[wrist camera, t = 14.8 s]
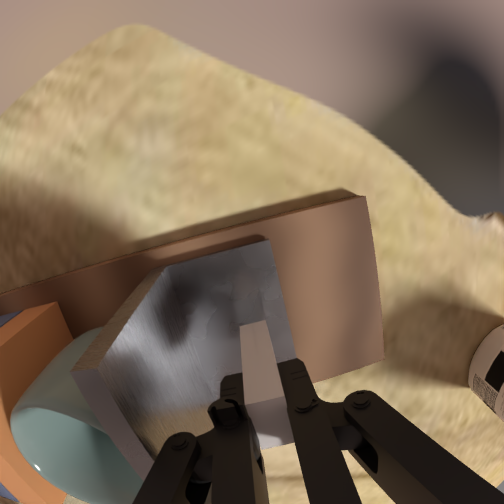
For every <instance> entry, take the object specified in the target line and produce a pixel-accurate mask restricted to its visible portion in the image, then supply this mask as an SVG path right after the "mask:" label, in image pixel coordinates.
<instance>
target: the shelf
mask: <svg viewBox="0 0 504 504" xmlns="http://www.w3.org/2000/svg"><path fill="white" fill-rule="evenodd" d="M267 238H269V240H270V244H271V248H272V253H273V257H274V261H275V265H276V269H277V274H278V278H279V282H280V286H281V291H282V295H283V299H284V304H285V308H286V312H287V317H288V321H289V325H290V330H291V334H292V339H293V343H294V348H295V352H296V357H297V358H298V359H300V360H301V361H303V362H304V364H305V366H306V369H307V371H308V374H309V376H310V379H311V381H312V383H315V382H319V381H322V380H325V379H329V378H332V377H335V376H338V375H341V374H344V373H347V372H350V371H353V370H356V369H359V368H362V367H364V366H367V365H370V364H373V363H375V362H378V361H381V360H383V359H384V341H383V325H382V312H381V301H380V291H379V282H378V273H377V265H376V257H375V250H374V243H373V236H372V230H371V224H370V218H369V212H368V207H367V201H366V196H359V195H357V196H353V197H349V198H344V199H340V200H336V201H332V202H327V203H323V204H319V205H315V206H311V207H306V208H302V209H298V210H294V211H290V212H286V213H282V214H278V215H274V216H270V217H266V218H262V219H258V220H254V221H250V222H246V223H242V224H239V225H235V226H231V227H227V228H223V229H220V230H216V231H212V232H208V233H204V234H201V235H197V236H193V237H190V238H186V239H182V240H179V241H175V242H171V243H168V244H164V245H161V246H157V247H153V248H150V249H146V250H143V251H139V252H136V253H132V254H129V255H125V256H122V257H118V258H115V259H112V260H108V261H105V262H101V263H98V264H95V265H91V266H88V267H85V268H81V269H78V270H75V271H71V272H68V273H65V274H62V275H58V276H55V277H52V278H49V279H46V280H42V281H39V282H36V283H33V284H30V285H27V286H23V287H20V288H17V289H14V290H11V291H8V292H5V293H2V294H0V316H2V315H6V314H10V313H14V312H18V311H21V310H22V311H24V310H25V309H29V308H33V307H37V306H41V305H45V304H49V303H53V302H58V305H59V307H60V310H61V312H62V314H63V317H64V319H65V322H66V324H67V326H68V328H69V331H70V333H71V335H72V337H73V339H75V338H76V337H78V336H79V335H81V334H83V333H85V332H87V331H89V330H91V329H93V328H96V327H101V326H105V325H106V324H107V323H108V321H109V320H110V319H111V318H112V317H113V315H114V314H115V313H116V312H117V310H118V309H119V308H120V307H121V306H122V304H123V303H124V302H125V301H126V299H127V298H128V297H129V296H130V295H131V293H132V292H133V291H134V290H135V289H136V288H137V286H138V285H139V284H140V283H141V282H142V280H143V279H144V278H145V277H146V276H147V275H148V273H149V272H150V271H151V270H152V269H153V268H156V267H160V266H164V265H168V264H171V263H175V262H179V261H183V260H186V259H190V258H194V257H198V256H202V255H206V254H209V253H213V252H217V251H221V250H225V249H228V248H232V247H236V246H240V245H244V244H248V243H252V242H256V241H259V240H263V239H267Z"/></svg>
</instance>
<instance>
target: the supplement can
mask: <svg viewBox="0 0 504 504" xmlns="http://www.w3.org/2000/svg"><path fill="white" fill-rule="evenodd" d="M468 385H469V386H470V388H471V390H472V391H473V392H474V393H475V394H476V395H477V396H478V397H479V398H480V399H481V400H482V401H483V402H484V403H485V404H486V405H487V406H488V407H489V408H490V409H491V410H492V411H493V412H494V413H495V414H496V415H497V416H498V417H499V418H500V419H501V420H502V421H503V422H504V324H503V325H500V326H499V327H497V328H495V329H493V330H492V331H491V332H490V333H489V334H488V335H487V336H486V337H485V338H484V340H483V341H482V342H481V344H480V345H479V347H478V348H477V350H476V352H475V354H474V356H473V358H472V361H471V364H470V368H469V380H468Z"/></svg>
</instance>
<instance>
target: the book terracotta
mask: <svg viewBox="0 0 504 504" xmlns="http://www.w3.org/2000/svg"><path fill="white" fill-rule="evenodd" d="M72 340H73V337H72V335H71V333H70V331H69V328H68V326H67V324H66V322H65V319H64V317H63V314H62V312H61V310H60V307H59V305H58V302H53V303H49V304H45V305H41V306H37V307H33V308H29V309H25V310H24V311H22V312H21V313H20V314H18V315H17V316H15V317H14V318H13V319H11V320H10V321H9V322H7V323H6V324H5V325H3V326H2V327H1V328H0V482H1V483H2V485H3V486H4V487H5V488H6V489H7V490H8V491H9V492H10V493H11V494H12V495H13V496H14V497H15V498H16V499H17V500H18V501H19V502H21V503H23V504H63V502H64V500H65V497H66V495H67V493H65V492H64V491H62V490H60V489H58V488H57V487H55V486H54V485H52V484H51V483H49V482H48V481H47V480H45V479H44V478H43V477H42V476H41V475H39V474H38V473H37V472H36V471H35V470H34V469H33V468H32V467H31V466H30V464H29V463H28V462H27V461H26V460H25V458H24V457H23V455H22V454H21V452H20V451H19V449H18V447H17V445H16V443H15V441H14V439H13V436H12V432H11V426H10V416H11V412H12V409H13V407H14V405H15V404H16V402H17V401H18V399H19V398H20V397H21V395H22V394H23V393H24V392H25V390H26V389H27V388H28V387H29V385H30V384H31V383H32V382H33V381H34V379H35V378H36V377H37V376H38V375H39V374H40V372H41V371H42V370H43V369H44V368H45V367H46V366H47V365H48V363H49V362H50V361H51V360H52V359H53V358H54V357H55V356H56V355H57V354H58V353H59V352H60V351H61V350H62V349H63V348H64V347H65V346H66V345H67V344H68V343H70V342H71V341H72Z"/></svg>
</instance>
